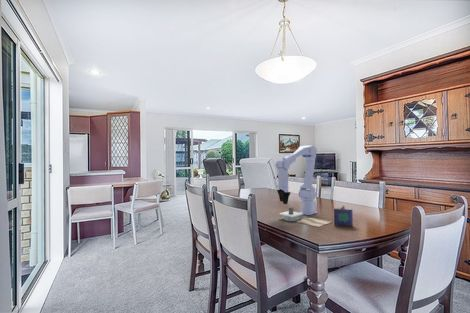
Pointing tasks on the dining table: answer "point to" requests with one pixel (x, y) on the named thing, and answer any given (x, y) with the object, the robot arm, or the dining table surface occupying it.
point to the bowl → (291, 218)
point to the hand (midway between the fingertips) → (283, 202)
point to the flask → (343, 217)
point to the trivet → (314, 222)
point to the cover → (291, 213)
